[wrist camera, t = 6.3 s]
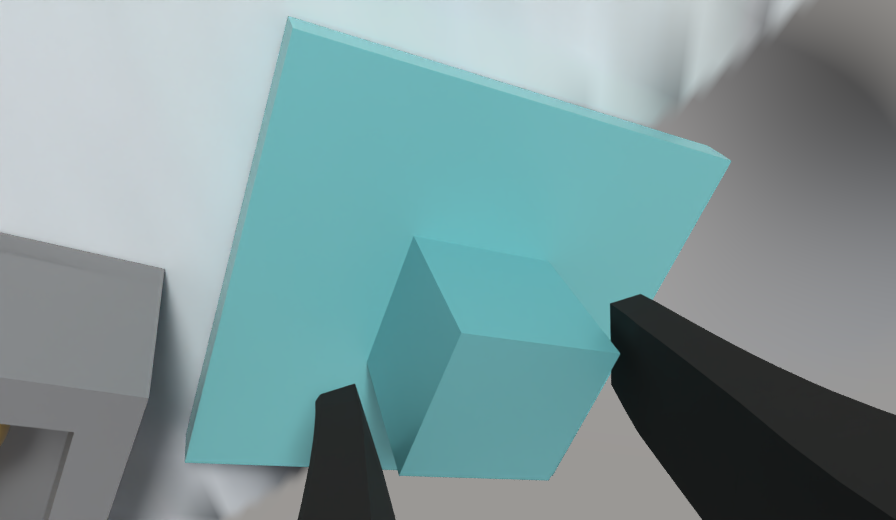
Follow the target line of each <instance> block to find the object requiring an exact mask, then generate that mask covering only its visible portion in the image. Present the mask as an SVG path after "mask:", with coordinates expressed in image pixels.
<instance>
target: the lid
mask: <svg viewBox="0 0 896 520" xmlns="http://www.w3.org/2000/svg"><path fill="white" fill-rule="evenodd" d="M730 163H731V160H729V159H727V158H726V157H725V156H723V155H722V154H720V153H718V152H717V151H715V150H714V149H712V148H710V147H709V146H706V145H703V144H700V143H697V142H693V141H690V140H687V139H684V138H681V137H677V136H674V135H671V134H668V133H664V132H661V131H658V130H655V129H652V128H648V127H645V126H642V125H639V124H635V123H632V122H629V121H626V120H622V119H619V118H616V117H613V116H609V115H606V114H603V113H600V112H597V111H593V110H590V109H587V108H584V107H580V106H577V105H574V104H571V103H567V102H564V101H561V100H558V99H555V98H551V97H548V96H545V95H542V94H538V93H535V92H532V91H529V90H525V89H522V88H519V87H516V86H512V85H509V84H506V83H503V82H500V81H496V80H493V79H490V78H487V77H483V76H480V75H477V74H474V73H470V72H467V71H464V70H461V69H457V68H454V67H451V66H448V65H445V64H441V63H438V62H435V61H432V60H428V59H425V58H422V57H419V56H415V55H412V54H409V53H406V52H403V51H399V50H396V49H393V48H390V47H386V46H383V45H380V44H377V43H373V42H370V41H367V40H364V39H360V38H357V37H354V36H351V35H348V34H344V33H341V32H338V31H335V30H331V29H328V28H325V27H322V26H318V25H315V24H312V23H309V22H305V21H302V20H299V19H296V18H293V17H289V16H288V18H287V22H286V27H285V31H284V35H283V39H282V43H281V47H280V51H279V55H278V59H277V63H276V68H275V72H274V76H273V80H272V84H271V88H270V92H269V96H268V100H267V105H266V109H265V113H264V117H263V121H262V125H261V129H260V133H259V137H258V141H257V146H256V150H255V154H254V158H253V162H252V166H251V170H250V174H249V178H248V182H247V187H246V191H245V195H244V199H243V203H242V207H241V211H240V215H239V219H238V223H237V228H236V232H235V236H234V240H233V244H232V248H231V252H230V256H229V260H228V264H227V269H226V273H225V277H224V281H223V285H222V289H221V293H220V297H219V301H218V305H217V310H216V314H215V318H214V322H213V326H212V330H211V334H210V338H209V342H208V347H207V351H206V355H205V359H204V363H203V367H202V371H201V375H200V379H199V383H198V388H197V392H196V396H195V400H194V404H193V408H192V412H191V416H190V420H189V424H188V429H187V433H186V447H185V463H211V464H239V465H268V466H296V467H309V463H310V457H311V450H312V443H313V435H314V424H315V401H316V399H317V398H318V397H319V395H320V394H323V393H326V392H329V391H332V390H335V389H339V388H342V387H345V386H348V385H351V384H355V385H356V388H357V391H358V394H359V397H360V400H361V404H362V407H363V410H364V413H365V416H366V419H367V422H368V426H369V429H370V432H371V435H372V438H373V441H374V444H375V448H376V451H377V454H378V457H379V460H380V463H381V467H382V470H398V473H399V476H425V477H426V476H427V477H456V478H457V477H458V478H489V479H520V480H549V479H550V477H551V475H553V474H554V472H555V470H556V468H557V467H558V465H559V463H560V462H561V460H562V458H563V456H564V455H565V453H566V451H567V449H568V448H569V446H570V444H571V442H572V440H573V439H574V437H575V435H576V434H577V431H578V430H579V428H580V427H581V425H582V423H583V421H584V419H585V418H586V416H587V414H588V412H589V411H590V409H591V407H592V405H593V403H594V402H595V400H596V398H597V397H598V395H599V393H600V391H601V390H602V388H603V386H604V384H605V382H606V381H607V379H608V377H609V376H610V374H611V370H612V368H613V366H614V364H615V363H616V361H617V359H618V357H619V355H620V352H619V351H618V350H617V349H616V347H615V346H614V345H613V343H612V342H611V337H610V303H613V302H616V301H619V300H622V299H626V298H629V297H632V296H635V295H638V294H642V295H644V296H646V297H648V298H650V299H651V300H653V298H654V296H655V295H656V293H657V291H658V289H659V287H660V286H661V284H662V282H663V281H664V279H665V277H666V275H667V274H668V272H669V270H670V268H671V266H672V265H673V263H674V261H675V259H676V258H677V256H678V254H679V252H680V251H681V249H682V247H683V245H684V244H685V242H686V240H687V238H688V237H689V235H690V233H691V231H692V229H693V228H694V226H695V224H696V223H697V221H698V219H699V217H700V215H701V214H702V212H703V210H704V208H705V207H706V205H707V203H708V201H709V199H710V198H711V196H712V194H713V193H714V190H715V189H716V187H717V186H718V184H719V182H720V180H721V178H722V177H723V175H724V173H725V171H726V170H727V168H728V166H729V164H730Z"/></svg>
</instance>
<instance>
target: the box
mask: <svg viewBox="0 0 896 520" xmlns="http://www.w3.org/2000/svg"><path fill="white" fill-rule="evenodd" d="M164 270H165V269H162V268H157V267H153V266H148V265H144V264H139V263H135V262H130V261H126V260H121V259H117V258H112V257H108V256H103V255H99V254H94V253H90V252H85V251H81V250H76V249H72V248H67V247H63V246H58V245H54V244H49V243H45V242H40V241H36V240H31V239H27V238H22V237H18V236H13V235H9V234H4V233H0V520H107V519H108V516H109V513H110V510H111V507H112V504H113V502H114V499H115V496H116V493H117V490H118V487H119V484H120V481H121V478H122V475H123V472H124V469H125V467H126V464H127V461H128V458H129V455H130V452H131V449H132V446H133V443H134V440H135V437H136V434H137V432H138V429H139V426H140V423H141V420H142V417H143V414H144V411H145V408H146V405H147V402H148V399H149V393H150V385H151V377H152V369H153V360H154V352H155V344H156V336H157V327H158V319H159V311H160V303H161V294H162V286H163V278H164Z"/></svg>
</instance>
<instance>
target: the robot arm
mask: <svg viewBox="0 0 896 520" xmlns="http://www.w3.org/2000/svg"><path fill="white" fill-rule="evenodd" d="M610 337H611V342H612V343H613V345H614V346H615V347H616V349H617V350H618V351H619V352H620V355H619V357H618V359H617V361H616V363H615V364H614V366H613V368H612V370H611V385H612V387H613V389H614V390H615V392H616V394H617V396H618V398H619V400H620V401H621V403H622V405H623V407H624V409H625V411H626V412H627V414H628V416H629V418H630V419H631V421H632V423H633V424H634V426H635V428H636V430H637V431H638V433H639V434H640V436H641V437H642V439H643V440H644V441H645V443H646V444H647V445H648V447H649V448H650V449H651V451H652V452H653V453H654V455H655V456H656V458H657V459H658V460H659V462H660V463H661V465H662V466H663V467H664V469H665V470H666V471H667V473H668V474H669V475H670V477H671V478H672V479H673V481H674V482H675V484H676V485H677V486H678V488H679V489H680V490H681V492H682V493H683V494H684V495H685V497H686V498H687V499H688V501H689V502H690V504H691V505H692V506H693V508H694V509H695V510H696V512H697V513H698V514H699V516H700V517H701V518H702V520H896V415H894V414H891V413H888V412H886V411H883V410H880V409H877V408H875V407H872V406H869V405H867V404H864V403H862V402H859V401H857V400H854V399H851V398H849V397H846V396H844V395H841V394H838V393H836V392H833V391H831V390H828V389H826V388H824V387H821V386H819V385H817V384H814V383H812V382H810V381H808V380H805V379H803V378H801V377H799V376H797V375H795V374H792V373H790V372H788V371H786V370H784V369H782V368H779V367H777V366H775V365H773V364H771V363H769V362H767V361H765V360H763V359H761V358H759V357H757V356H755V355H753V354H751V353H749V352H747V351H745V350H743V349H741V348H739V347H737V346H735V345H733V344H731V343H730V342H728V341H726V340H724V339H722V338H720V337H718V336H716V335H715V334H713V333H711V332H709V331H707V330H705V329H704V328H702V327H700V326H698V325H696V324H694V323H693V322H691V321H689V320H687V319H685V318H684V317H682V316H680V315H678V314H677V313H675V312H673V311H671V310H669V309H667V308H666V307H664V306H662V305H660V304H659V303H657V302H655V301H653V300H651V299H650V298H648V297H646V296H644V295H642V294H638V295H635V296H632V297H629V298H626V299H622V300H619V301H616V302H613V303H610ZM298 520H395V515H394V512H393V508H392V504H391V501H390V497H389V493H388V490H387V486H386V482H385V479H384V475H383V471H382V467H381V463H380V460H379V457H378V454H377V451H376V448H375V444H374V441H373V438H372V435H371V432H370V429H369V426H368V422H367V419H366V416H365V413H364V410H363V407H362V404H361V400H360V397H359V394H358V391H357V388H356V385H355V384H351V385H348V386H345V387H342V388H339V389H335V390H332V391H329V392H326V393H323V394H320V395H319V397H318V398H317V399H316V401H315V424H314V435H313V443H312V450H311V457H310V463H309V469H308V474H307V479H306V484H305V489H304V494H303V499H302V504H301V508H300V512H299V517H298Z"/></svg>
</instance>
